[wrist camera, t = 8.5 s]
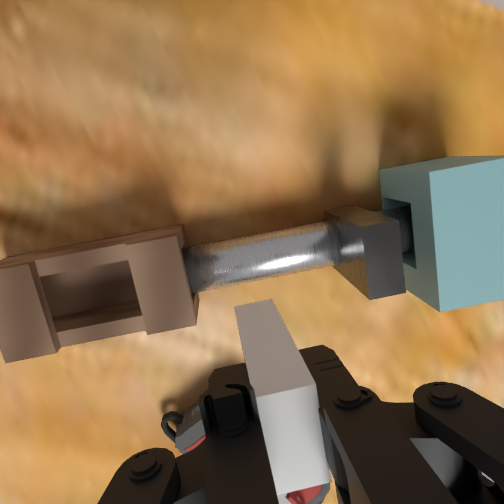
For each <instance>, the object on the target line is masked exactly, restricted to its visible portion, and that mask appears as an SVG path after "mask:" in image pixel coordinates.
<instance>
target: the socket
mask: <svg viewBox="0 0 504 504" xmlns="http://www.w3.org/2000/svg"><path fill="white" fill-rule="evenodd" d="M379 179H380V188H381V198H382V207H383V210H386V209H391V208H396V207H402V206H407V205H411V212H412V223H413V234H414V245H415V250H411V251H405V252H402V257H403V267H404V277H405V287H406V290H408V291H409V292H411V293H412V294H414V295H415V296H417V297H418V298H420V299H421V300H423V301H424V302H426V303H427V304H429V305H430V306H432V307H433V308H434V309H436V310H437V311H439V312H444V311H449V310H454V309H459V308H464V307H469V306H474V305H479V304H484V303H489V302H493V301H498V300H503V299H504V156H460V157H444V158H439V159H433V160H428V161H422V162H417V163H412V164H406V165H401V166H396V167H390V168H385V169H380V170H379Z"/></svg>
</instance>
